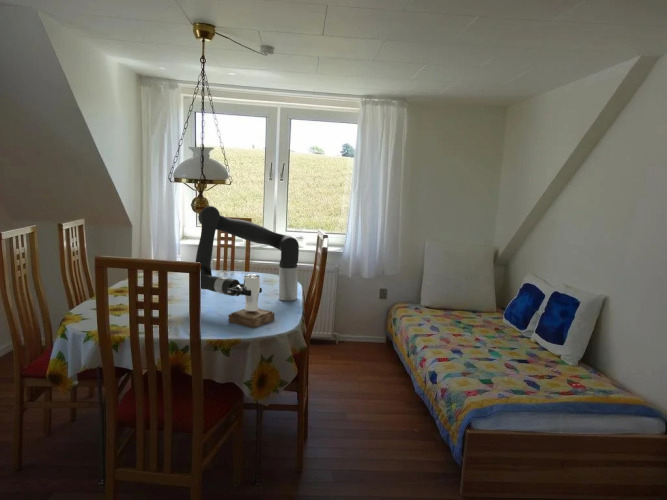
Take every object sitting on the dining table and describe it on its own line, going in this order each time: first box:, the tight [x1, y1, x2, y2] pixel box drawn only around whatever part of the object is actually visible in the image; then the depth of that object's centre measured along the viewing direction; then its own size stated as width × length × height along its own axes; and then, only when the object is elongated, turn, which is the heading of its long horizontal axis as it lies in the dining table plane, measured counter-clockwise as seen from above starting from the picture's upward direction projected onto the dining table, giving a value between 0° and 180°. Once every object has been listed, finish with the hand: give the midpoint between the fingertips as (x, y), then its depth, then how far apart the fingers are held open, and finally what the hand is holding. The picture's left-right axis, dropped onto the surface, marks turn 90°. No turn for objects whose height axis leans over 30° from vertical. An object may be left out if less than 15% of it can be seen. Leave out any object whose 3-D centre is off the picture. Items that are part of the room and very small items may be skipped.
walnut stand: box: [228, 308, 275, 329], centre depth 195 cm, size 14×14×4 cm
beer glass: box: [243, 274, 261, 312], centre depth 194 cm, size 7×7×15 cm
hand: (255, 292), depth 193 cm, fingers closed on beer glass, 6 cm apart
